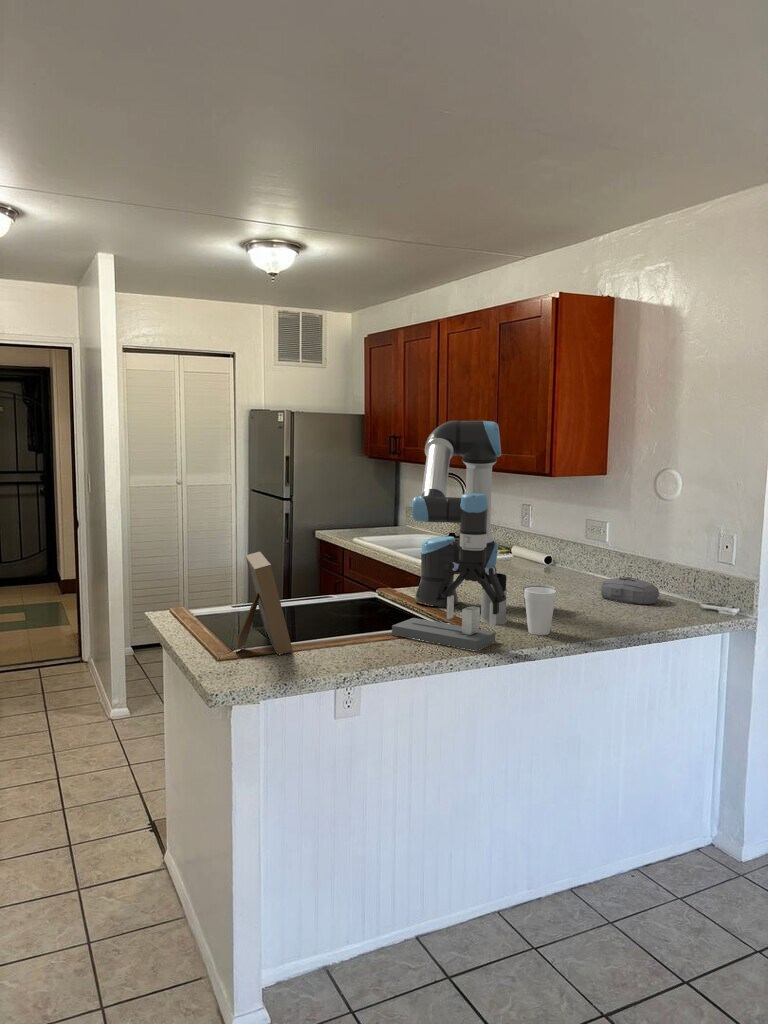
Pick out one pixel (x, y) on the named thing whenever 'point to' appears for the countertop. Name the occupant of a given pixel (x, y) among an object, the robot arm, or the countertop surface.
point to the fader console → (443, 633)
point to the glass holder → (486, 602)
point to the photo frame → (265, 605)
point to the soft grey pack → (629, 590)
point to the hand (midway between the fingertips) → (470, 621)
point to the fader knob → (470, 620)
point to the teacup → (538, 586)
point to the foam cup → (539, 609)
